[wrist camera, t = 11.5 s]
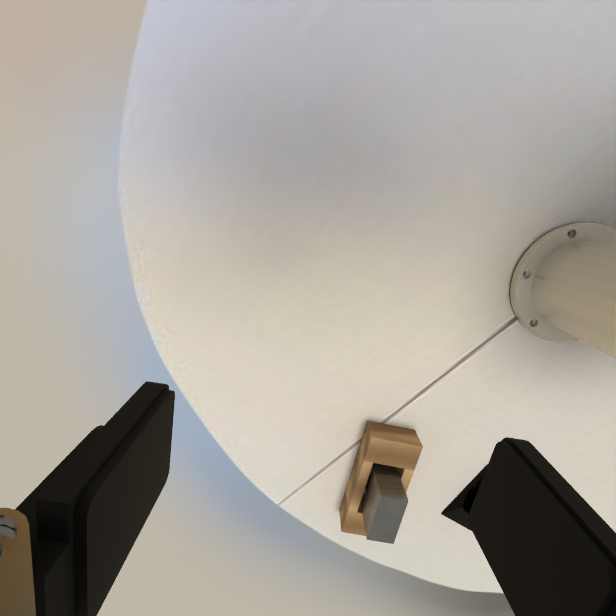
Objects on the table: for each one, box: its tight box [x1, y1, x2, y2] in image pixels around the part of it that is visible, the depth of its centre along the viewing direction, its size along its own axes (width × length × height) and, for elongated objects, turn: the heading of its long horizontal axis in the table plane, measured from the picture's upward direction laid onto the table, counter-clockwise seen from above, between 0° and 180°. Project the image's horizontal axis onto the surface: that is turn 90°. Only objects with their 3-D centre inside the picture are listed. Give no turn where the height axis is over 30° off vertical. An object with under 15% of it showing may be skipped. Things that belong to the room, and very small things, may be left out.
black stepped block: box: [441, 464, 488, 531], centre depth 43 cm, size 12×7×5 cm, turn 147°
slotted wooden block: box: [340, 421, 423, 536], centre depth 42 cm, size 14×6×3 cm, turn 168°
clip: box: [362, 463, 408, 544], centre depth 40 cm, size 6×3×7 cm, turn 169°
